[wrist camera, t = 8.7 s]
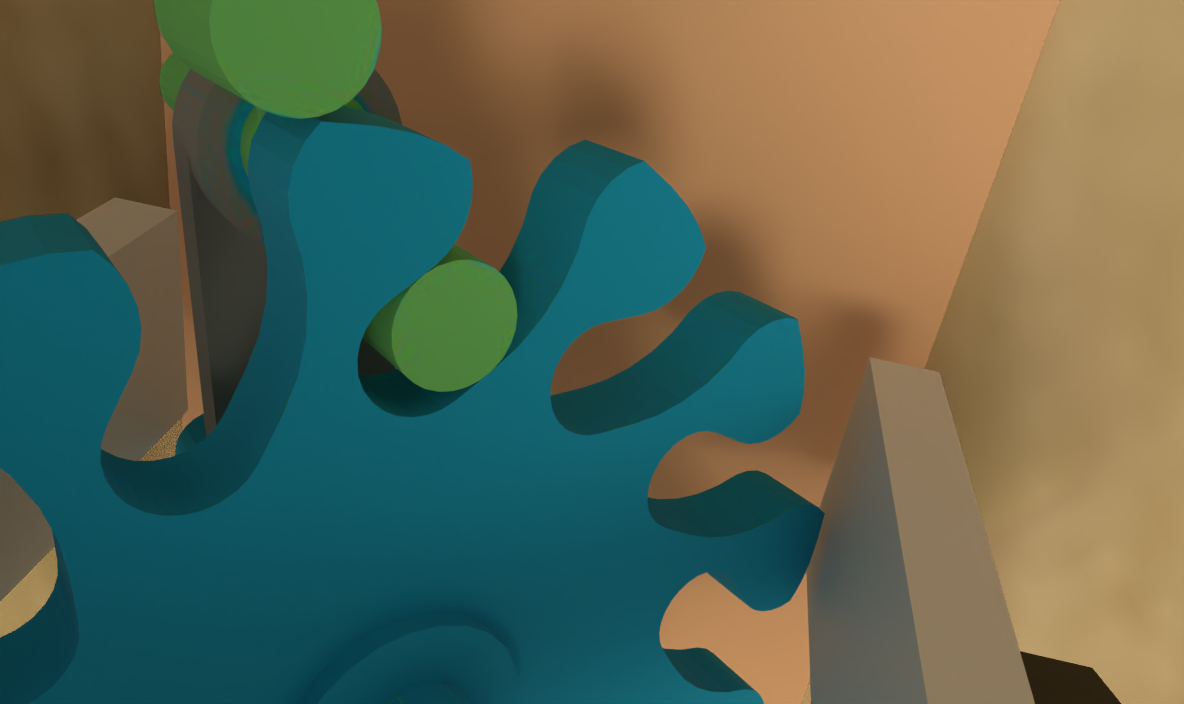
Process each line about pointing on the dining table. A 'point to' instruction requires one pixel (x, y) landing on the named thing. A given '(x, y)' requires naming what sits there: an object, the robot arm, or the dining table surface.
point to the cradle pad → (733, 196)
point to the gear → (382, 414)
